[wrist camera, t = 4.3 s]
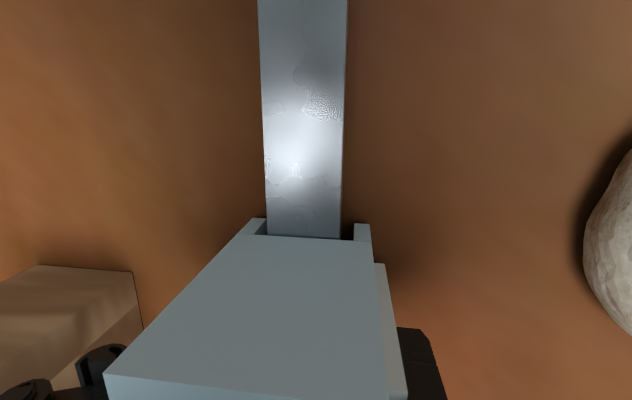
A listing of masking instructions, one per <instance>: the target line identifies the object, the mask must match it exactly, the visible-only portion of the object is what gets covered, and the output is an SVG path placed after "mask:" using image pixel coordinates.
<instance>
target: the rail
mask: <svg viewBox="0 0 632 400" xmlns="http://www.w3.org/2000/svg"><path fill="white" fill-rule="evenodd" d="M257 3H258V26H259V49H260V72H261V94H262V117H263V140H264V163H265V186H266V208H267V231H268V236H284V237H300V238H316V239H332V240H341V222H342V193H343V164H344V135H345V107H346V78H347V49H348V20H349V0H257Z"/></svg>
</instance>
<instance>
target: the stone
mask: <svg viewBox="0 0 632 400" xmlns="http://www.w3.org/2000/svg"><path fill="white" fill-rule="evenodd" d="M583 266H584V271H585V275H586V278H587V281H588V284H589V286H590V288H591V289H592V291H593V293H594V294H595V296H596V297H597V299H598V300H599V302H600V303H601V305H602V306H603V308H604V309H605V311H606V312H607V313H608V314H609V316H610V317H611V318H612V319H613V321H614V322H616V323H617V324H618V325H619V326H620V327H621V328H622V329H623V330H624V331H625V332H627V333H628V334H629V335H630V336H632V149H631V150H630V151H629V152H628V153H627V154H626V155H625V156H624V158H623V159H622V161H621V163H620V164H619V166H618V167H617V169H616V171H615V173H614V175H613V178H612V180H611V182H610V184H609V186H608V188H607V189H606V191H605V193H604V194H603V196H602V198H601V199H600V201H599V202H598V203H597V205H596V206H595V208H594V209H593V211H592V213H591V215H590V217H589V219H588V221H587V223H586V228H585V234H584V241H583Z"/></svg>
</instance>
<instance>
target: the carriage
mask: <svg viewBox="0 0 632 400" xmlns="http://www.w3.org/2000/svg"><path fill="white" fill-rule="evenodd" d="M102 374H103V378H104V382H105V386H106V389H107V393H108V397H109V400H389V395H388V386H387V377H386V368H385V359H384V350H383V341H382V332H381V323H380V314H379V305H378V296H377V287H376V278H375V269H374V259H373V250H372V242H371V232H370V224H360V223H354V240H353V241H349V240H332V239H316V238H300V237H284V236H267V219H266V218H252V219H251V220H250V221H249V222H248V223H247V224H246V225H245V226H244V227H243V228H242V229H241V230H240V231H239V232H238V234H236V235H235V236H234V237H233V238H232V239H231V240H230V241H229V243H228V244H227V245H226V246H225V247H224V248H223V249H222V250H221V251H220V252H219V253H218V254H217V255H216V256H215V257H214V258H213V259H212V260H211V261H210V262H209V263H208V264H207V265H206V266H205V267H204V268H203V269H202V270H201V272H200V273H199V274H198V275H197V276H196V277H195V278H194V279H193V280H192V281H191V282H190V283H189V284H188V285H187V286H186V287H185V288H184V289H183V290H182V291H181V292H180V293H179V294H178V295H177V296H176V297H175V298H174V300H173V301H172V302H171V303H170V304H169V305H168V306H167V307H166V308H165V309H164V310H163V311H162V312H161V313H160V314H159V315H158V316H157V317H156V318H155V319H154V320H153V321H152V322H151V323H150V324H149V325H148V326H147V328H146V329H145V330H144V331H143V332H142V333H141V334H140V335H139V336H138V337H137V338H136V339H135V340H134V341H133V342H132V343H131V344H130V345H129V346H128V347H127V348H126V349H125V350H124V351H123V352H122V353H121V354H120V355H119V357H118V358H117V359H116V360H115V361H114V362H113V363H112V364H111V365H110V366H109V367H108V368H107V369H106V370H105V371H104V372H103V373H102Z"/></svg>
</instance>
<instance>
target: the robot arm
mask: <svg viewBox="0 0 632 400" xmlns="http://www.w3.org/2000/svg"><path fill="white" fill-rule="evenodd" d="M374 269H375V278H376V287H377V296H378V305H379V314H380V323H381V332H382V341H383V350H384V359H385V368H386V377H387V386H388V395H389V400H448V399H447V396H446V393H445V389H444V386H443V383H442V380H441V377H440V373H439V370H438V367H437V366H436V361H435V358H434V355H433V351H432V348H431V345H430V342H429V340H428V338H427V337H426V336H425V335H424V334H423V332H422V331H421V330H420V329H413V328H402V327H396V324H395V318H394V313H393V307H392V302H391V296H390V291H389V285H388V280H387V274H386V269H385V264H382V263H374ZM126 348H127V346H125V345H123V344H116V343H112V344H108V345H103V346H100V347H98V348H96V349H93V350H91V351H90V352H88V353H87V354H85V355H84V356H82V357H81V358H80V359H79V360H78V361H77V362H76V363H75V364H74V365H75V368H76V372H77V375H78V379H79V382H80V386H81V387H76V388H70V389H63V390H57V391H53V388H52V385H51V383H50V381H49V380H47V379H44V378H41V379H32V380H29V381H26V382H23V383H20V384H18V385H16V386H14V387H12V388H10V389H8V390H7V391H6V392H4V393H3V394H1V395H0V400H109V397H108V393H107V389H106V386H105V382H104V378H103V374H102V373H103V372H104V371H105V370H106V369H107V368H108V367H109V366H110V365H111V364H112V363H113V362H114V361H115V360H116V359H117V358H118V357H119V355H120V354H121V353H122V352H123V351H124V350H125V349H126Z"/></svg>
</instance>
